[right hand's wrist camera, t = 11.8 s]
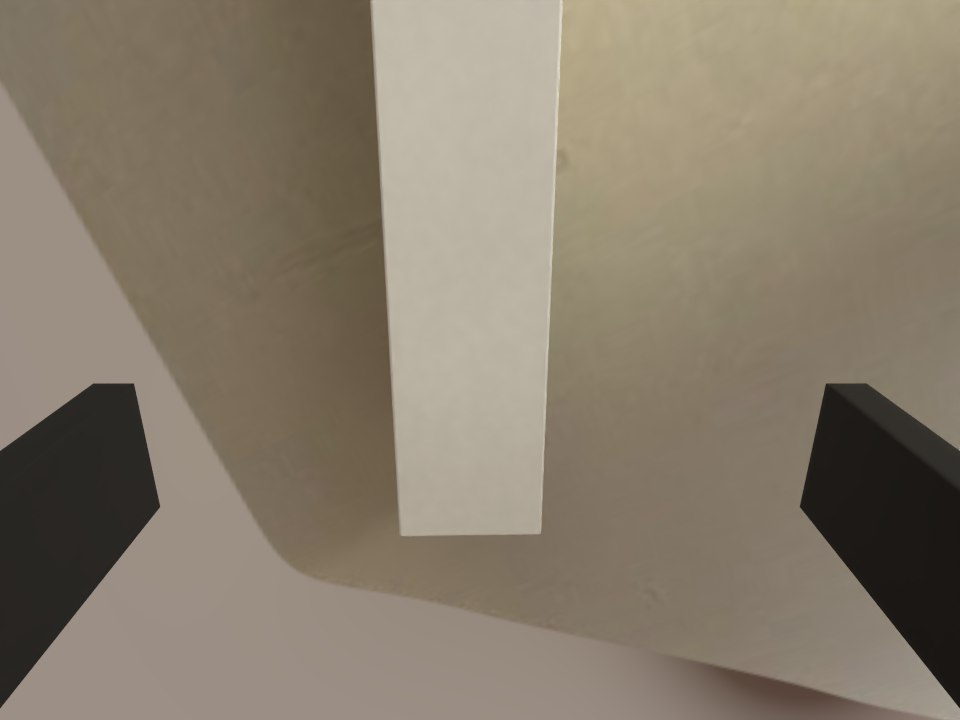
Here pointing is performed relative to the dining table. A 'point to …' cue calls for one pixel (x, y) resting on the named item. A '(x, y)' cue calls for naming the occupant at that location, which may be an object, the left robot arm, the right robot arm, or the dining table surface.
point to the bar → (468, 254)
